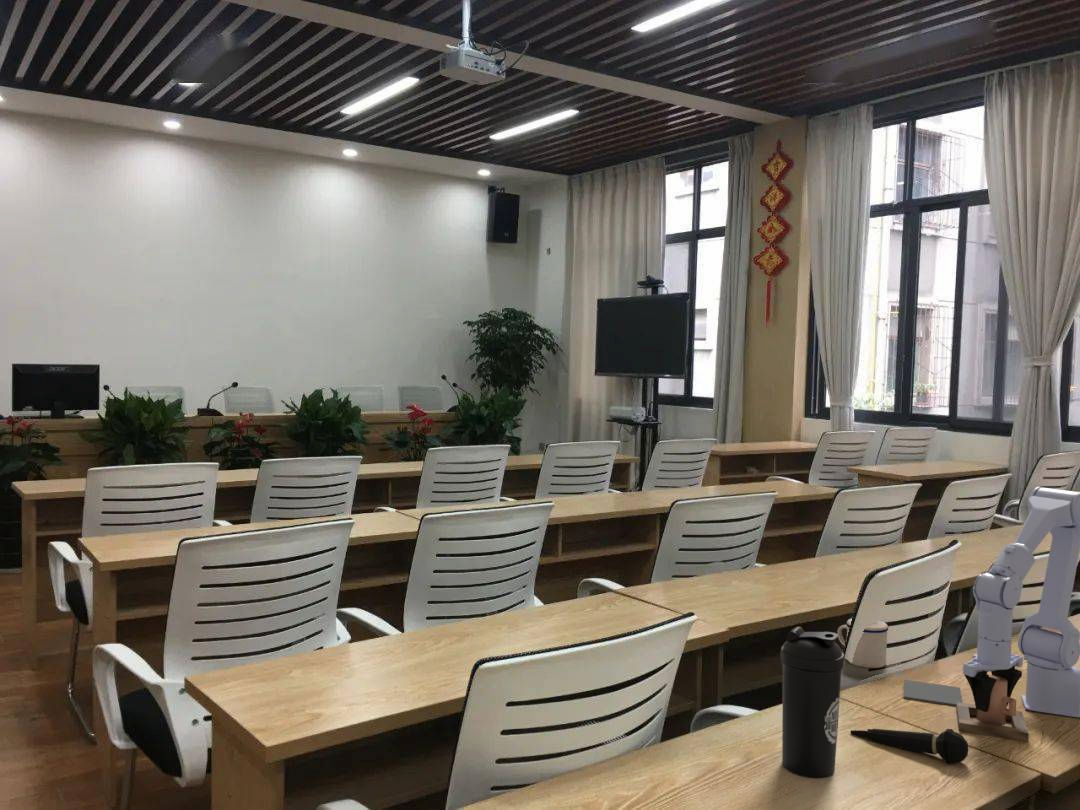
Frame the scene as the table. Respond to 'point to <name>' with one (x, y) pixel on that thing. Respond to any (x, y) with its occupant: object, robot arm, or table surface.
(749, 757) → the table surface
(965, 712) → the walnut holder
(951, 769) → the table surface
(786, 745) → the water bottle
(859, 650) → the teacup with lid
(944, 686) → the rubber mat
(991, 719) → the terracotta jug
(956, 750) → the microphone
